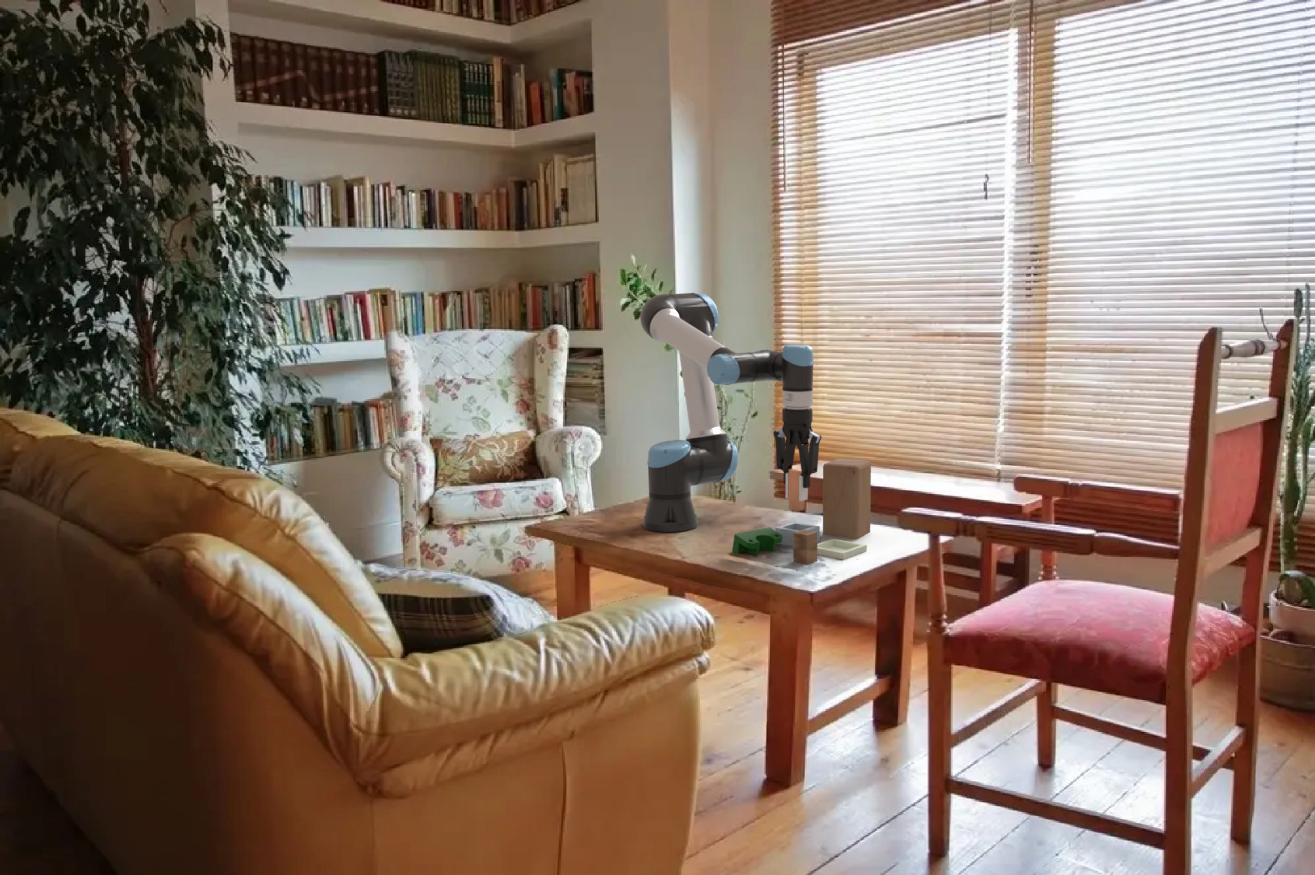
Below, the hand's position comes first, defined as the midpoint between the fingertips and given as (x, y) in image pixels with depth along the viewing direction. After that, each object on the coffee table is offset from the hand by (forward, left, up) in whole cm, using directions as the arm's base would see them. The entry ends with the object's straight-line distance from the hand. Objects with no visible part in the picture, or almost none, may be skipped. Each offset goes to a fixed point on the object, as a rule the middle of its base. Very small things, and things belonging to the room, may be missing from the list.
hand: (796, 498), depth 261 cm
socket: (0, 0, -12) cm, 12 cm away
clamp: (-2, -13, -13) cm, 18 cm away
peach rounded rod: (0, 0, -3) cm, 3 cm away
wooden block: (+4, +16, -12) cm, 21 cm away
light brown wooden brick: (+12, -13, -12) cm, 22 cm away
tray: (+13, -1, -12) cm, 18 cm away
